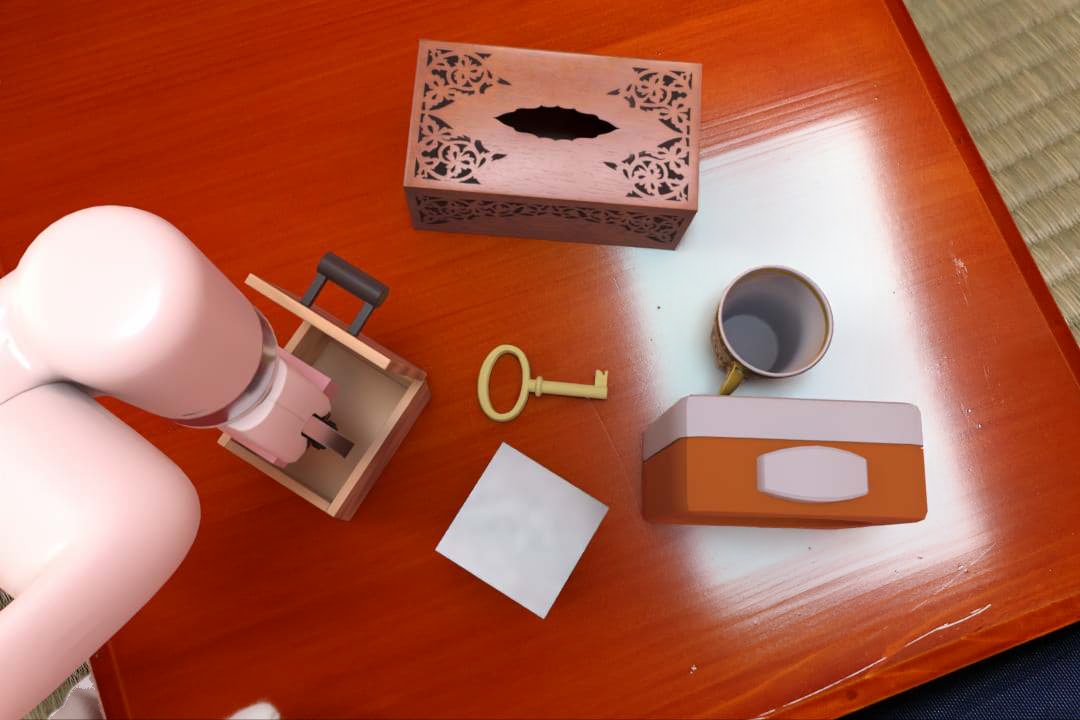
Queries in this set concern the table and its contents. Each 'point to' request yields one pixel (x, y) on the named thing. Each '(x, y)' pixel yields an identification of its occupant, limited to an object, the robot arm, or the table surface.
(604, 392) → the key
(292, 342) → the chest
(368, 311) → the lid
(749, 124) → the table surface
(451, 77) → the tissue box cover
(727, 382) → the ceramic cup
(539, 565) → the stand
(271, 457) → the pale pink rectangular box
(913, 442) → the orange white box
